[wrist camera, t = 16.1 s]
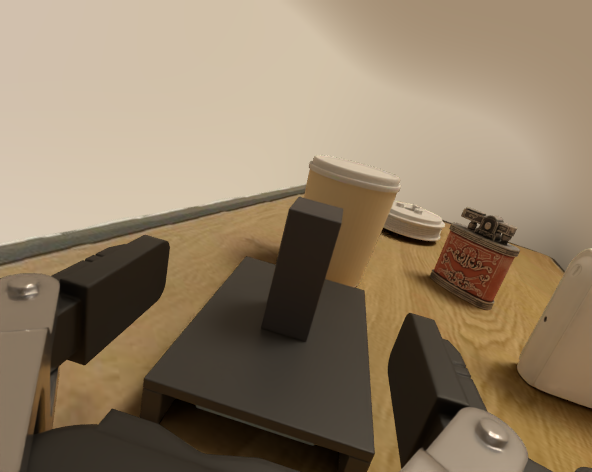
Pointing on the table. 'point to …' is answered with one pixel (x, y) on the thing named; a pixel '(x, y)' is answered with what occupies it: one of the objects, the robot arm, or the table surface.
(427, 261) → the table surface
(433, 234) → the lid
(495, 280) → the lighter
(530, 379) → the photo printer
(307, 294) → the cover
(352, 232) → the coffee cup
